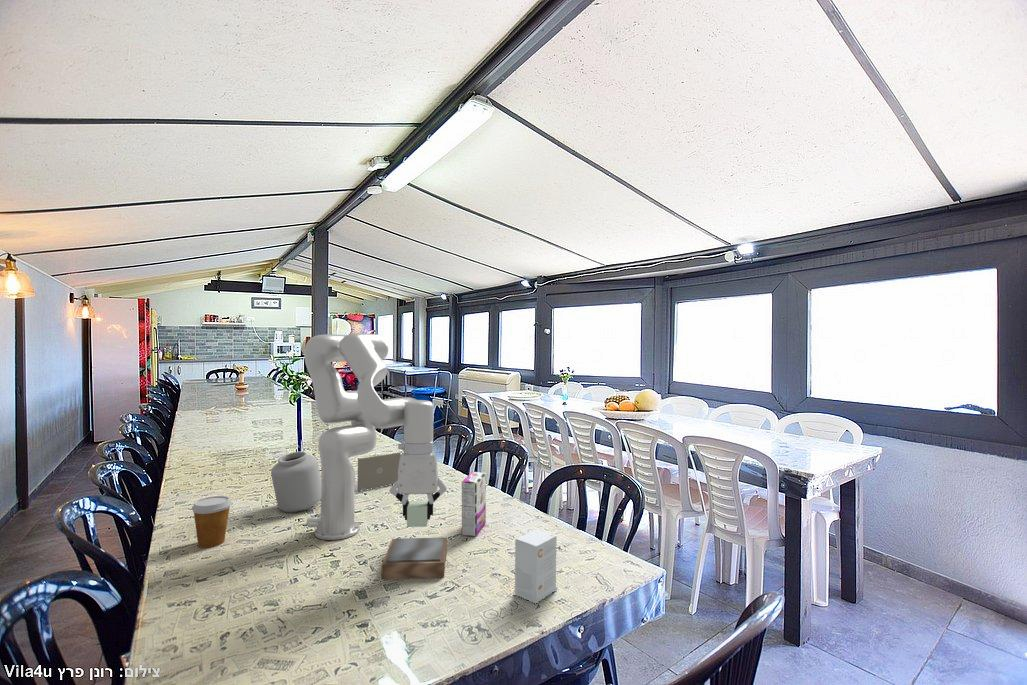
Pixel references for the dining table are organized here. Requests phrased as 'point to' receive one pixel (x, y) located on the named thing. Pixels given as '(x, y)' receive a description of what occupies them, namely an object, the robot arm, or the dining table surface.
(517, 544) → the small box
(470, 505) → the candy bar box
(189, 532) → the dining table surface
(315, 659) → the dining table surface
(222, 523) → the disposable coffee cup
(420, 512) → the sage cube
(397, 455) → the laptop
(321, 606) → the dining table surface
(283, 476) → the jar
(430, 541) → the walnut base
